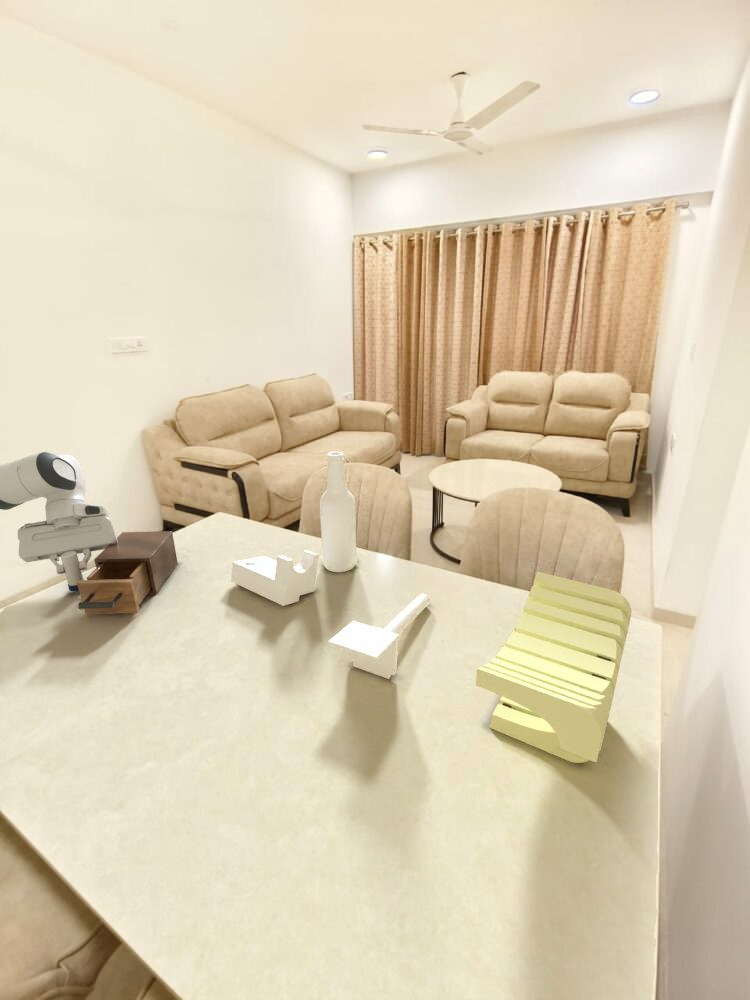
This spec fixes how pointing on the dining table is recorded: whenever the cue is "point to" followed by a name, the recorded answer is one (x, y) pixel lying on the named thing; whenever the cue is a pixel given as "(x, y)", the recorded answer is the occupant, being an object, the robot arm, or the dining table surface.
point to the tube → (72, 569)
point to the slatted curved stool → (560, 668)
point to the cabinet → (144, 554)
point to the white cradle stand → (277, 576)
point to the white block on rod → (378, 640)
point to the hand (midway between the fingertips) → (72, 571)
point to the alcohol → (338, 519)
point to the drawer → (115, 588)
